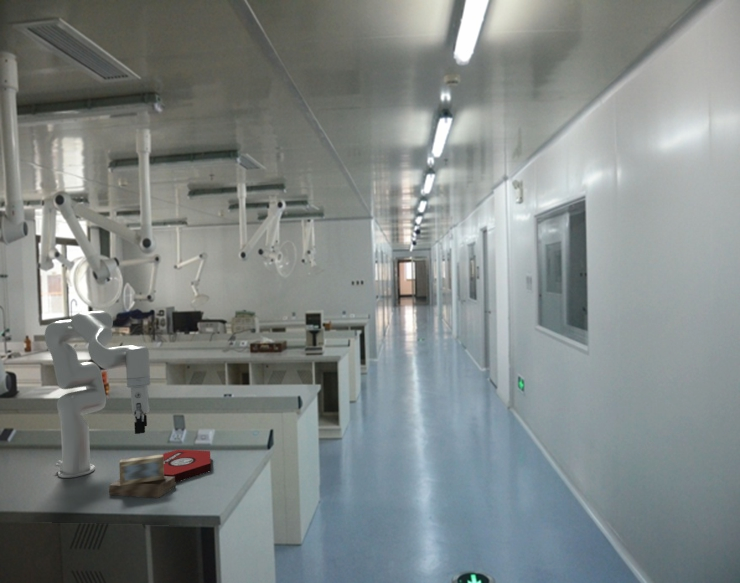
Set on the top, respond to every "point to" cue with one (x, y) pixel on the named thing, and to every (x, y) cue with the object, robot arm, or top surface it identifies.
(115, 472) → the top surface
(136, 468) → the tan rectangular slab
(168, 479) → the tan shallow box
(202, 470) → the plaque
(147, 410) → the robot arm
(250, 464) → the top surface
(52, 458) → the top surface
